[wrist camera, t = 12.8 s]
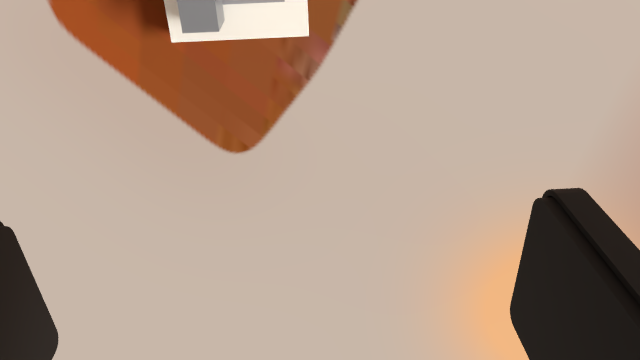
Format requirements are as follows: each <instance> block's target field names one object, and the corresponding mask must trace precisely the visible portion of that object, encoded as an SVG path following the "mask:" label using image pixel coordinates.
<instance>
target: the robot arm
mask: <svg viewBox="0 0 640 360" xmlns="http://www.w3.org/2000/svg"><path fill="white" fill-rule="evenodd" d="M510 315H511V320H512V324H513V326H514V328H515V330H516V332H517V335H518V337H519V339H520V341H521V343H522V345H523V347H524V349H525V351H526V353H527V355H528V357H529V360H640V250H639V249H638V248H637V247H636V246H635V245H634V244H633V243H632V241H631V240H630V239H629V238H628V237H627V236H626V235H625V234H624V233H623V232H622V231H621V229H620V228H619V227H618V226H617V225H616V224H615V223H614V222H613V221H612V219H611V218H610V217H609V216H608V215H607V214H606V213H605V212H604V211H603V210H602V208H601V207H600V206H599V205H598V204H597V203H596V202H595V201H594V200H593V199H592V198H591V196H590V195H589V194H588V193H587V192H586V191H585V190H583V189H581V188H571V189H551V190H547V191H546V192H545V193H544V194H543V197H542V198H537V199H536V200H535V201H534V203H533V206H532V211H531V215H530V220H529V224H528V229H527V233H526V238H525V242H524V247H523V251H522V255H521V260H520V265H519V269H518V273H517V278H516V282H515V287H514V292H513V296H512V300H511V306H510ZM57 345H58V332H57V329H56V327H55V325H54V322H53V320H52V318H51V315H50V313H49V311H48V309H47V306H46V304H45V302H44V300H43V298H42V295H41V293H40V291H39V288H38V286H37V284H36V282H35V279H34V277H33V275H32V273H31V270H30V268H29V266H28V263H27V261H26V259H25V257H24V254H23V252H22V250H21V247H20V245H19V243H18V241H17V238H16V236H15V234H14V232H13V230H12V229H11V228H10V227H7V226H4V225H3V223H2V222H0V360H52V358H53V356H54V354H55V352H56V349H57Z"/></svg>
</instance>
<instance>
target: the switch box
mask: <svg viewBox="0 0 640 360" xmlns="http://www.w3.org/2000/svg"><path fill="white" fill-rule="evenodd" d="M222 3H223V11H224V19H225V21H224V23H223V25H222V27H221V29H220V31H219V32H201V33H182V27H181V22H180V16H179V10H178V5H177V0H164V4H165V10H166V15H167V20H168V25H169V31H170V36H171V41H172V42H191V41H213V40H234V39H255V38H277V37H298V36H309V26H308V5H307V0H222Z"/></svg>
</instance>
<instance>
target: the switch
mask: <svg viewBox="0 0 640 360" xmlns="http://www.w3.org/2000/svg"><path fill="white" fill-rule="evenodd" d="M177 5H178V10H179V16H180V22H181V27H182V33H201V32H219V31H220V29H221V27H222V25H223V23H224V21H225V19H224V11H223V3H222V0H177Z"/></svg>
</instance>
